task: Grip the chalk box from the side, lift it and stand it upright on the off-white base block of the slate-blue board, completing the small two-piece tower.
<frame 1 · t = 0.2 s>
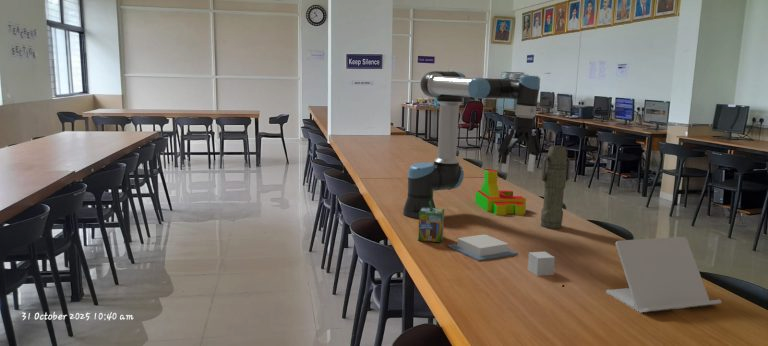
hand: (517, 171, 211), 27 cm above the table, tool pointing down, fingers open, 13 cm apart
base block: (482, 244, 200), on the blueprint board, point 2 cm above the table
tablet stand: (661, 301, 159), on the table
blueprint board: (482, 250, 200), on the table
building blocks toy: (501, 209, 267), on the table
white cube: (540, 272, 180), on the table
chalk box: (430, 239, 213), on the table
thermos: (551, 226, 237), on the table
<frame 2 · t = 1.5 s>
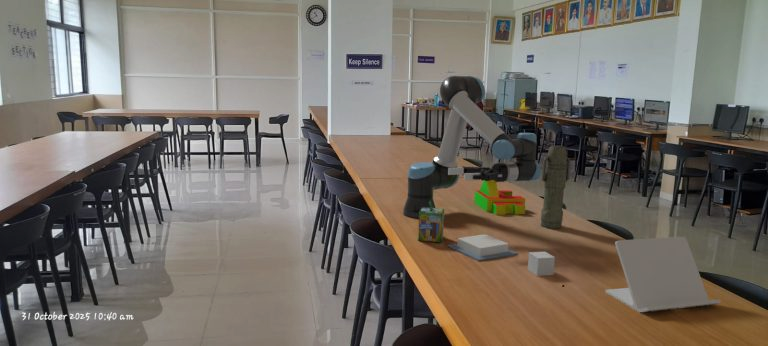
hand: (456, 174, 212), 25 cm above the table, tool horizontal, fingers open, 13 cm apart
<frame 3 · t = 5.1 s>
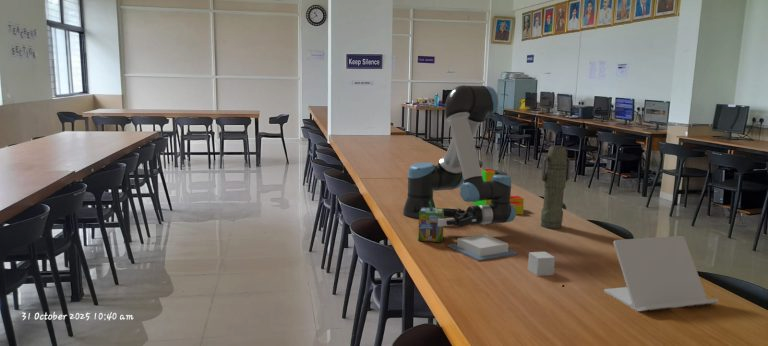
hand: (430, 218, 211), 8 cm above the table, tool horizontal, fingers open, 13 cm apart
chalk box: (430, 239, 213), on the table, touching gripper
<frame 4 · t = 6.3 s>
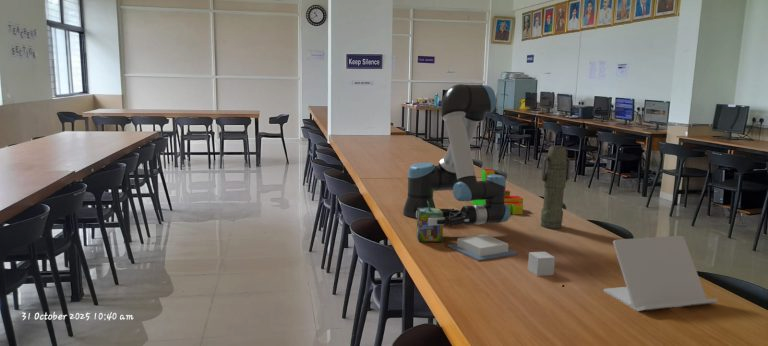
hand: (422, 218, 210), 8 cm above the table, tool horizontal, fingers closed on chalk box, 11 cm apart
chalk box: (429, 239, 213), on the table, touching gripper
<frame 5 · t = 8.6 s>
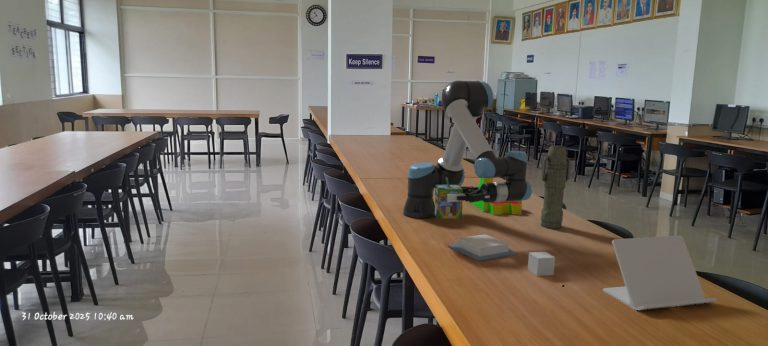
hand: (440, 194, 202), 19 cm above the table, tool horizontal, fingers closed on chalk box, 11 cm apart
chalk box: (447, 217, 205), point 10 cm above the table, touching gripper
when the fingers open (14 cm above the table, at t = 11.0 s): chalk box drops 1 cm, resting on base block.
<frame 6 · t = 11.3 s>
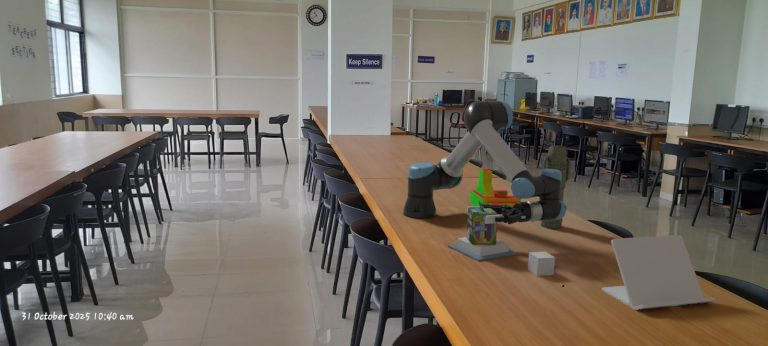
hand: (476, 214, 197), 14 cm above the table, tool horizontal, fingers open, 13 cm apart
chalk box: (480, 241, 199), point 3 cm above the table, touching base block
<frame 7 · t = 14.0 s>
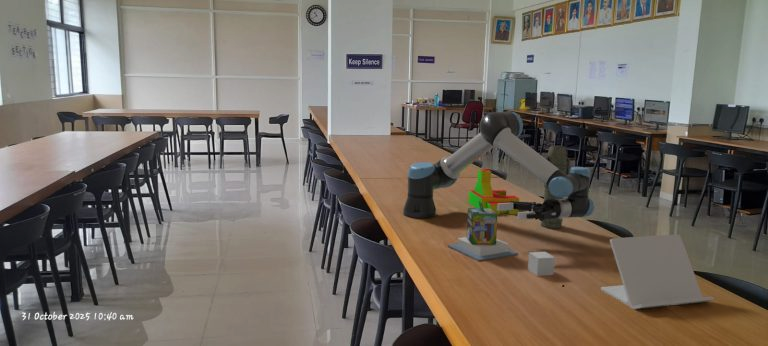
hand: (507, 211, 201), 14 cm above the table, tool horizontal, fingers open, 13 cm apart
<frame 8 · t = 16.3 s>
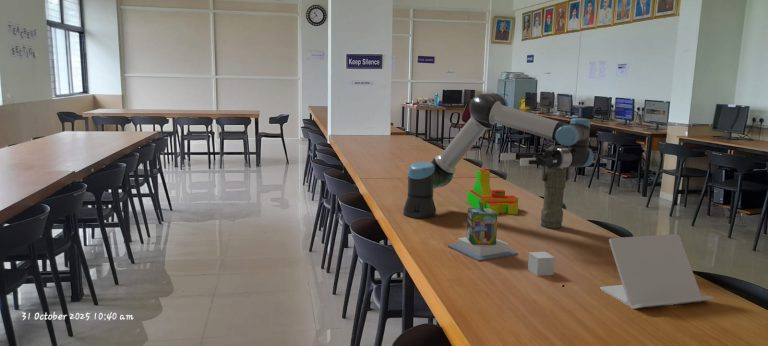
hand: (510, 159, 209), 32 cm above the table, tool horizontal, fingers open, 13 cm apart
at the end: chalk box 0.8 cm off-centre on the base block, point 3.4 cm above the base block's base; chalk box tilted 0°; the gripper is holding nothing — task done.
